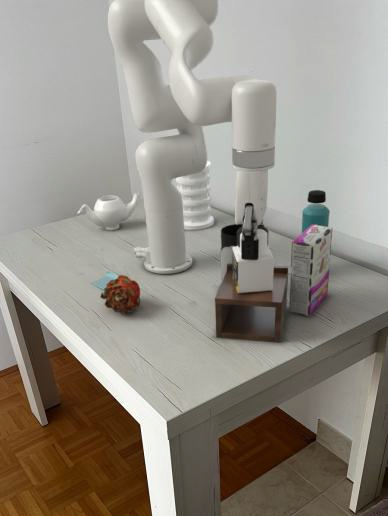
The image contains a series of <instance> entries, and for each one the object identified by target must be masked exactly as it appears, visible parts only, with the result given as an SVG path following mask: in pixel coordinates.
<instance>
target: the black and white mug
mask: <svg viewBox="0 0 388 516" xmlns="http://www.w3.org/2000/svg"><path fill="white" fill-rule="evenodd" d="M242 226H243V223H241V224H239V225H237V224H236V223H233V224H229V225H225V226H223V227H222V228H221V229H220V244H221V246H220V276H221V277H220V279H221V280H220V281H221V282H220V284H221V283H222V281H223V278H224V276H225V274H226V271H227V264H232V248H233V247H236V246H237V231H238V229H239V228H241V227H242Z"/></svg>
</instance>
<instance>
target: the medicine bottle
mask: <svg viewBox="0 0 388 516" xmlns="http://www.w3.org/2000/svg"><path fill="white" fill-rule="evenodd" d="M261 225H262V224H260V225H258V234H257V239H259V257H258V260H245V259H242V258H241V239H242V227H241V228H239V229H238V231H237V246H236V247H233V248H232V270H233V280H234V284H235V287H236V290H237V293H248V292H261V291H272V290H273V270H274V266H275V265H274V264H275V257H274V256H273V253H272V252H271V249H270V247H269V232H270V231H269V230H268V228H267V227H266V226H264V227H263V226H261ZM252 229H253V231H254V227H252Z"/></svg>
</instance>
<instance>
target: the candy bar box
mask: <svg viewBox="0 0 388 516" xmlns="http://www.w3.org/2000/svg"><path fill="white" fill-rule="evenodd" d="M301 233H302V232H301ZM301 233H300V234H299V235H298V236H297V237H296V238H295V239H294V240H293V241H292V242H291V253H290V254H291V256H290V257H291V258H290V289H289V312H290V313H293V314H297V315H302V316H306V317H310V316H311V315H312V314H314V312H315V310H316V309H317V308H318V307H319V306H320V305H321V303H322V302H323V301H324V300H325V298H327V296H328V294H329V293H328V292H329V281H330V280H329V278H330V267H331V253H332V252H331V251H332V239H333V227H332V226H328V227H327V226H321V225H311V226H310V227H309V228H308V229H307V230H305V231H304V232H303V233H302V234H301Z"/></svg>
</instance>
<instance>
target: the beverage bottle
mask: <svg viewBox="0 0 388 516" xmlns="http://www.w3.org/2000/svg"><path fill="white" fill-rule="evenodd" d="M307 193H308V194H307V199H306V201H307V203H310V204H308V205H306V206H305V207H304V208H303V209H302V210H301V211H302V212H301V213H302V216H301V218H302V219H301V233H300V235H301V234H302V233H303V232H304V231H305V230H307V229H308V228H309V227H310V226H311V225H321V226H327V227H329V223H330V212H331V211H330V209H329V208H328V207H327V206H326V205H325V204H323V203H326V202H327V201H326V200H327V198H326V197H327V196H326V191H324V190H320V189H313V190H310V191H308V192H307Z"/></svg>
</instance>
